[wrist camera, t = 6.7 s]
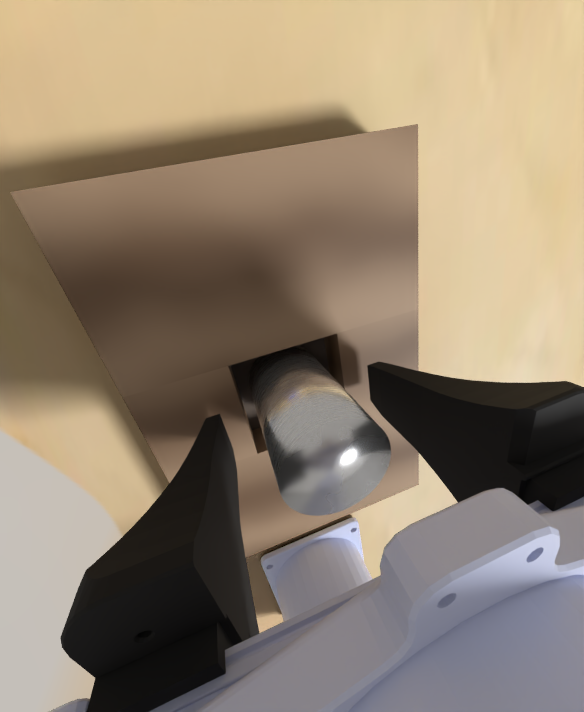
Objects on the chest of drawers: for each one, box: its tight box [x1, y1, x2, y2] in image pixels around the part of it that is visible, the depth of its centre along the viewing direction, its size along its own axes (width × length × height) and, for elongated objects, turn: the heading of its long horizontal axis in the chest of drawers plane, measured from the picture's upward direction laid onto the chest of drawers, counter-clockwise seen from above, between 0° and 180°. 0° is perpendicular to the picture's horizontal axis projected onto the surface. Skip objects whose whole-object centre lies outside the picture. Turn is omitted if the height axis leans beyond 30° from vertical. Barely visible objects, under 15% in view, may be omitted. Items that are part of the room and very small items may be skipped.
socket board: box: [10, 124, 419, 558], centre depth 15 cm, size 20×14×2 cm
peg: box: [249, 346, 391, 516], centre depth 12 cm, size 4×4×7 cm
